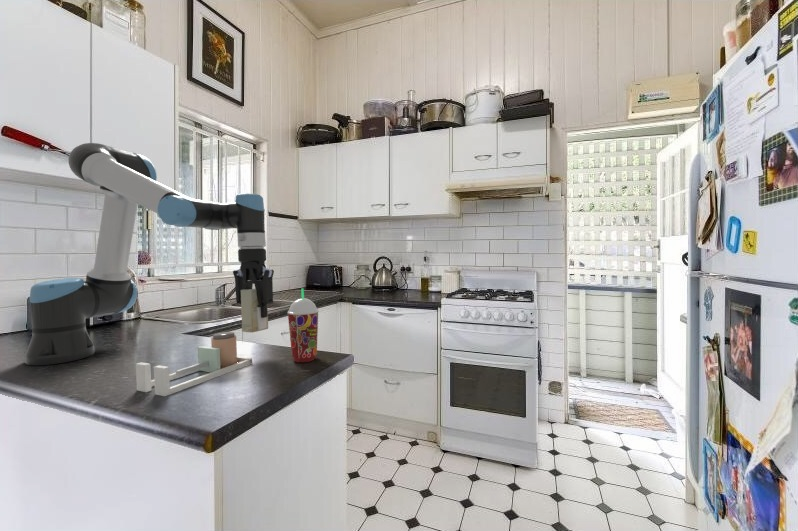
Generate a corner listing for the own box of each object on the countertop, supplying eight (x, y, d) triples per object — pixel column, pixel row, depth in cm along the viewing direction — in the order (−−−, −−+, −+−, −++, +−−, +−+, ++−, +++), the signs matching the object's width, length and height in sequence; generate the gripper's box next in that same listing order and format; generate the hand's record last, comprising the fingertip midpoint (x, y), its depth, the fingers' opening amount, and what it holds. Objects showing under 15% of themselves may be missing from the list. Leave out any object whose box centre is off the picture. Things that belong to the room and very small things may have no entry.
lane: (136, 390, 82) (135, 363, 81) (226, 360, 104) (226, 338, 104) (164, 396, 78) (163, 368, 78) (252, 363, 100) (251, 341, 100)
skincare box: (252, 333, 103) (251, 290, 103) (241, 332, 105) (239, 289, 105) (269, 328, 109) (267, 287, 108) (257, 327, 111) (256, 287, 110)
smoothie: (315, 364, 99) (313, 289, 98) (284, 364, 99) (282, 290, 98) (322, 355, 107) (320, 286, 106) (294, 355, 107) (292, 287, 106)
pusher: (168, 380, 87) (167, 355, 87) (202, 369, 95) (201, 346, 95) (187, 384, 84) (186, 358, 84) (220, 372, 92) (219, 348, 92)
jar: (207, 369, 96) (205, 335, 96) (226, 362, 101) (224, 331, 101) (223, 371, 94) (222, 337, 93) (242, 364, 99) (241, 332, 99)
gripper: (219, 249, 106) (223, 329, 107) (265, 247, 99) (269, 332, 100) (240, 249, 113) (243, 324, 114) (284, 247, 106) (288, 327, 107)
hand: (255, 328), depth 107 cm, fingers closed on skincare box, 4 cm apart
